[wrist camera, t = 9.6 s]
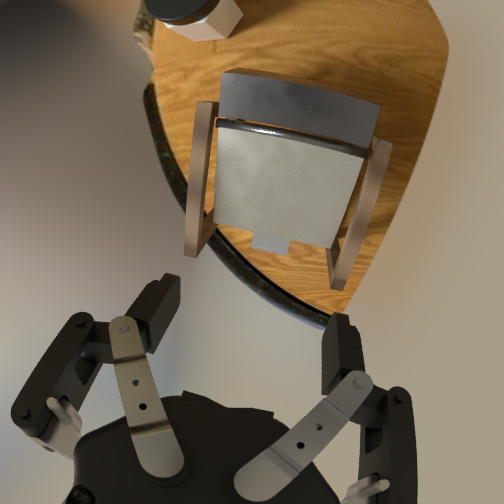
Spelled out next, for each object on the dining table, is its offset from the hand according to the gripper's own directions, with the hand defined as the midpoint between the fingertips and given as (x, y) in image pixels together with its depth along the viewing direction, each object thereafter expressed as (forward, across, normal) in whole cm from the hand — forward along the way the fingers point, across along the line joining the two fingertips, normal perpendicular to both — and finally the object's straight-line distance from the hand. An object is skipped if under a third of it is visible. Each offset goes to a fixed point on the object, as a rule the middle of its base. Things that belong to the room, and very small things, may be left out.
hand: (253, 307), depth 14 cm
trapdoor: (+19, 0, -4) cm, 20 cm away
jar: (+28, +14, -22) cm, 38 cm away
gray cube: (+26, 0, +5) cm, 26 cm away
